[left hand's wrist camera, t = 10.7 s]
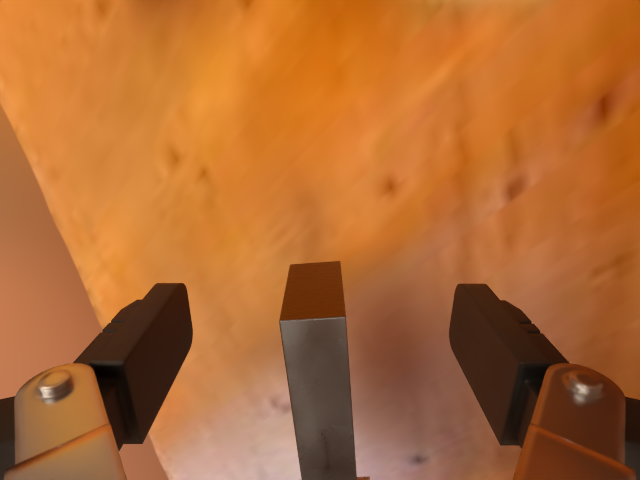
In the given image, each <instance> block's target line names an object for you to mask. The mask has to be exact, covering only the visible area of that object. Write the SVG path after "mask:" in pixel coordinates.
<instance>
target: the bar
mask: <svg viewBox="0 0 640 480" xmlns="http://www.w3.org/2000/svg"><path fill="white" fill-rule="evenodd" d="M279 324H280V331H281V338H282V345H283V352H284V359H285V366H286V373H287V380H288V387H289V394H290V401H291V408H292V415H293V422H294V429H295V436H296V443H297V450H298V457H299V464H300V471H301V478H302V480H357V476H356V461H355V446H354V431H353V416H352V401H351V386H350V371H349V357H348V342H347V327H346V314H345V304H344V294H343V284H342V274H341V264H340V261H334V262H320V263H306V264H292V265H290V268H289V273H288V278H287V283H286V289H285V294H284V299H283V304H282V310H281V315H280V320H279Z"/></svg>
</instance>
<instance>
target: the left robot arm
mask: <svg viewBox="0 0 640 480" xmlns="http://www.w3.org/2000/svg"><path fill="white" fill-rule="evenodd" d="M192 337H193V329H192V321H191V315H190V308H189V301H188V294H187V289H186V286H185V284H183V283H157V284H155V285H154V286H153V288H152V289H151V290H150V291H149V292H148V294H147V295H146V296H145V297H144V298H143V299H142V300H136V301H134V302H133V303H131V304H130V305H128V306H126V307H125V308H123V309H121V310H120V312H119V313H118V314H117V315H116V316H115V317H114V318H113V319H112V320H111V323H109V324H108V325H107V326H106V327H105V328H104V329H103V332H102V333H100V334H99V335H98V336H97V337H96V338H95V339H94V340H93V341H92V343H91V344H90V345H89V346H88V347H87V348H86V349H85V350H84V351H83V353H82V354H81V355H80V356H79V357H78V358H77V359H76V360H75V361H74V362H73V363H71V364H64V365H60V366H57V367H53V368H51V369H48V370H46V371H44V372H42V373H40V374H38V375H36V376H35V377H33V378H32V379H30V380H29V381H27V382H26V383H25V384H24V385H23V386H22V387H21V388H20V389H19V391H18V392H17V394H16V396H14V397H10V398H5V399H0V480H127V478H126V474H125V471H124V468H123V464H122V461H121V458H120V454H119V451H120V449H121V447H122V445H123V444H143V442H144V440H145V438H146V436H147V434H148V432H149V430H150V428H151V426H152V424H153V422H154V420H155V418H156V416H157V414H158V412H159V410H160V408H161V406H162V404H163V402H164V400H165V398H166V396H167V394H168V392H169V390H170V388H171V386H172V384H173V382H174V380H175V378H176V376H177V374H178V372H179V370H180V368H181V366H182V364H183V362H184V360H185V358H186V356H187V354H188V352H189V350H190V347H191V344H192ZM449 338H450V344H451V348H452V351H453V353H454V355H455V357H456V359H457V361H458V363H459V365H460V366H461V368H462V370H463V372H464V374H465V376H466V378H467V380H468V382H469V384H470V386H471V388H472V390H473V392H474V394H475V396H476V398H477V400H478V402H479V404H480V406H481V408H482V410H483V412H484V414H485V416H486V418H487V420H488V422H489V424H490V426H491V428H492V430H493V431H494V433H495V435H496V437H497V439H498V441H499V443H500V445H520V447H521V448H522V451H521V454H520V458H519V461H518V464H517V468H516V471H515V474H514V477H513V480H640V400H637V399H633V398H628V397H625V396H624V394H623V392H622V391H621V389H620V388H619V387H618V386H617V385H616V384H615V383H614V382H613V381H611V380H610V379H608V378H607V377H606V376H604V375H602V374H600V373H598V372H596V371H594V370H592V369H589V368H587V367H583V366H580V365H576V364H570V363H569V362H568V361H567V360H566V359H565V358H564V357H563V356H562V354H561V353H560V352H559V351H558V350H557V349H556V348H555V347H554V346H553V345H552V344H551V342H550V341H549V340H548V339H547V338H546V337H545V336H544V335H543V334H540V330H539V329H538V328H537V327H536V326H535V325H534V324H532V323H531V321H530V319H529V318H528V317H527V316H526V315H525V314H524V313H523V312H522V311H521V310H520V309H518V308H517V307H515V306H513V305H512V304H510V303H508V302H507V301H505V300H499V298H498V297H497V296H496V295H495V294H494V293H493V291H492V290H491V289H490V288H489V287H488V286H487V285H486V284H458V285H457V287H456V290H455V295H454V302H453V308H452V315H451V322H450V329H449Z"/></svg>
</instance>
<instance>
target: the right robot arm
mask: <svg viewBox="0 0 640 480" xmlns="http://www.w3.org/2000/svg"><path fill="white" fill-rule="evenodd" d="M357 480H370V477H357Z"/></svg>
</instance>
